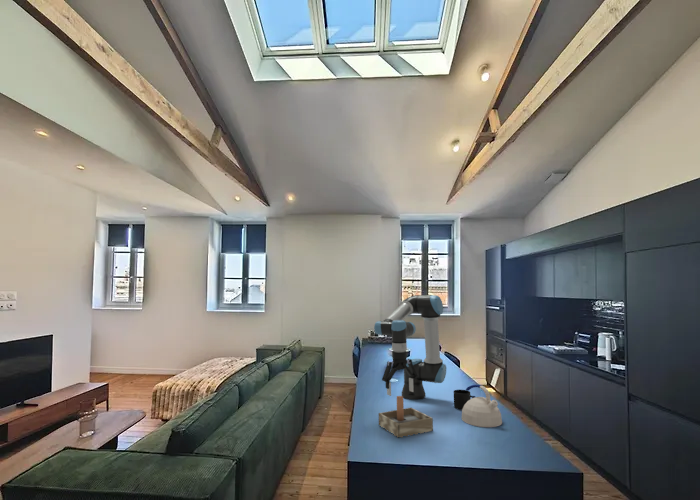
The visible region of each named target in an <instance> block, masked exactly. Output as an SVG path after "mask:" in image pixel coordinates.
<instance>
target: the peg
mask: <svg viewBox="0 0 700 500" xmlns="http://www.w3.org/2000/svg"><path fill="white" fill-rule="evenodd" d="M404 409H405V408H404V398H403V396H402V395H397V396H396V410H397V420H398V421H403V420H404Z"/></svg>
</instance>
